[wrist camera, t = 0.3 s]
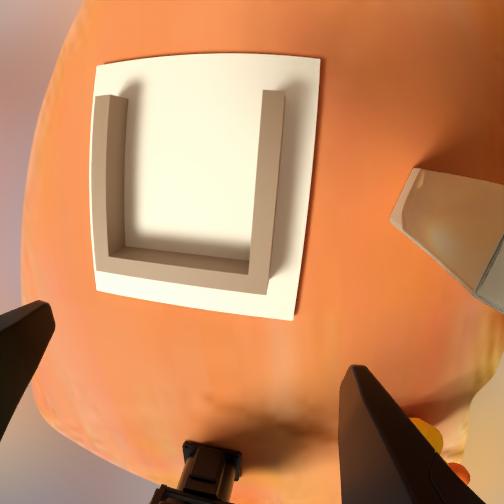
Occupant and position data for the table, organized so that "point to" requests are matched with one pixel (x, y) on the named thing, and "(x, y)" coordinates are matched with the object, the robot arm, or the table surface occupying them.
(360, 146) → the table surface
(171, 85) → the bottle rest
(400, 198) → the skincare box
